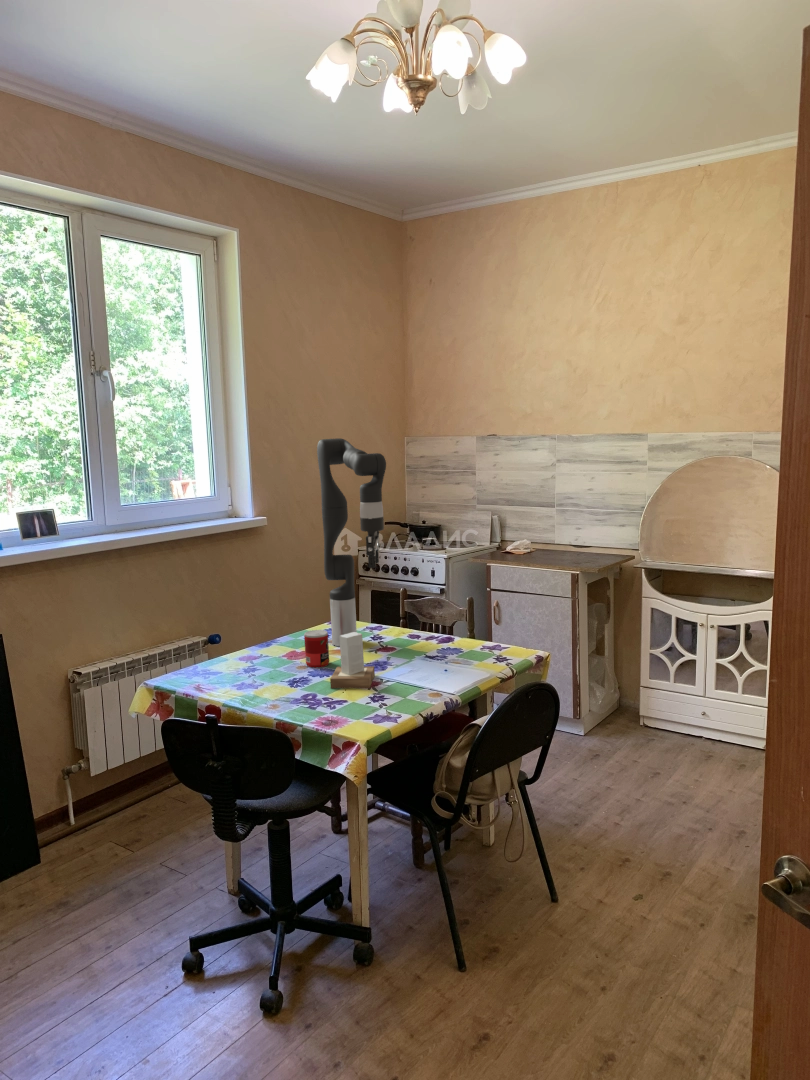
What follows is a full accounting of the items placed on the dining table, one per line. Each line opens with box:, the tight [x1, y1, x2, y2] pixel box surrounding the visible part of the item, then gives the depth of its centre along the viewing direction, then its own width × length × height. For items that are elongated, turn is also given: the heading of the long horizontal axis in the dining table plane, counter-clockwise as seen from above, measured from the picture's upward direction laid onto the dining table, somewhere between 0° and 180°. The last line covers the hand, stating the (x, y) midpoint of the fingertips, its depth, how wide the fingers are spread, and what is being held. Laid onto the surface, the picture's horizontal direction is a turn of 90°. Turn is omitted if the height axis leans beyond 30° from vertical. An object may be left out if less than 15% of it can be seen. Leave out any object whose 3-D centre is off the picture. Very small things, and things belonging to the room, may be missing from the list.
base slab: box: [329, 665, 376, 689], centre depth 232 cm, size 12×12×3 cm
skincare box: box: [339, 632, 365, 675], centre depth 231 cm, size 6×4×12 cm
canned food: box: [303, 629, 330, 669], centre depth 250 cm, size 8×8×11 cm
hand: (373, 565), depth 241 cm, fingers open, 8 cm apart
